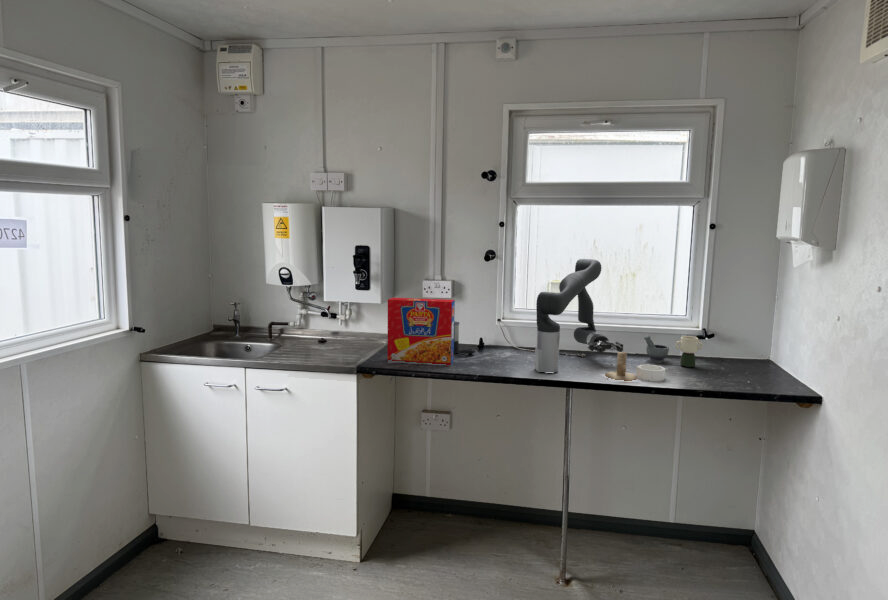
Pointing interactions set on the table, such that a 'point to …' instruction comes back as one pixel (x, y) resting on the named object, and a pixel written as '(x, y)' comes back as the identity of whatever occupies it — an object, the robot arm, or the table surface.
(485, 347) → the table surface
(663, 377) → the bowl
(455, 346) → the milk frother
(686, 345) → the character mug
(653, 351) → the mortar and pestle
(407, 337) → the pasta box
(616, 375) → the paper towel holder
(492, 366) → the table surface
